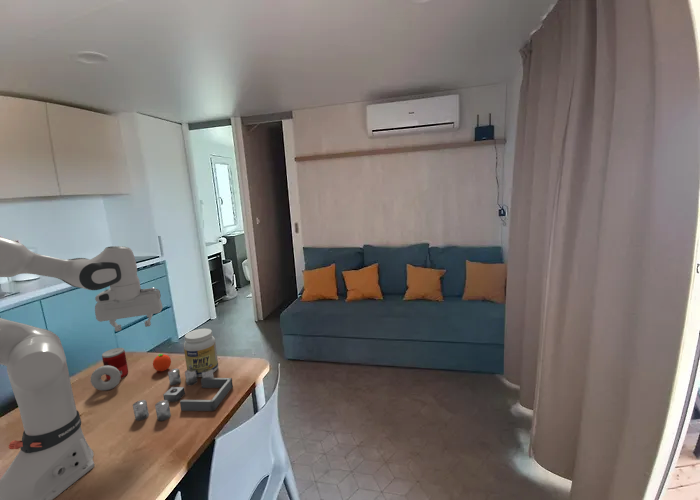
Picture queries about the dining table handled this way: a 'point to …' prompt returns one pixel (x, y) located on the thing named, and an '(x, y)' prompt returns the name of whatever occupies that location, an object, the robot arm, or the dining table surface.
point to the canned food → (116, 361)
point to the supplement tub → (200, 351)
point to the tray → (209, 404)
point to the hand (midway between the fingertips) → (133, 328)
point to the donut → (103, 385)
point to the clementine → (161, 362)
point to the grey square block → (174, 394)
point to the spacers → (163, 406)
